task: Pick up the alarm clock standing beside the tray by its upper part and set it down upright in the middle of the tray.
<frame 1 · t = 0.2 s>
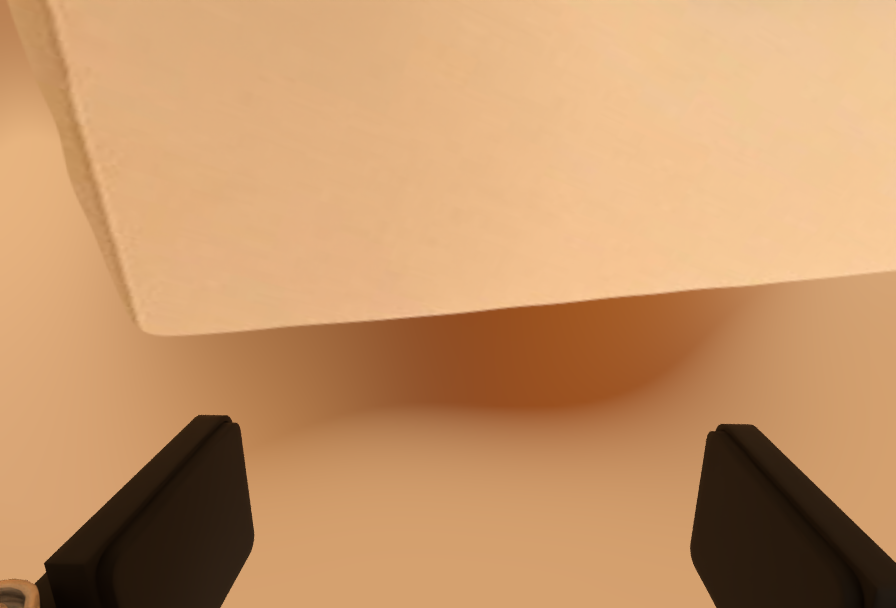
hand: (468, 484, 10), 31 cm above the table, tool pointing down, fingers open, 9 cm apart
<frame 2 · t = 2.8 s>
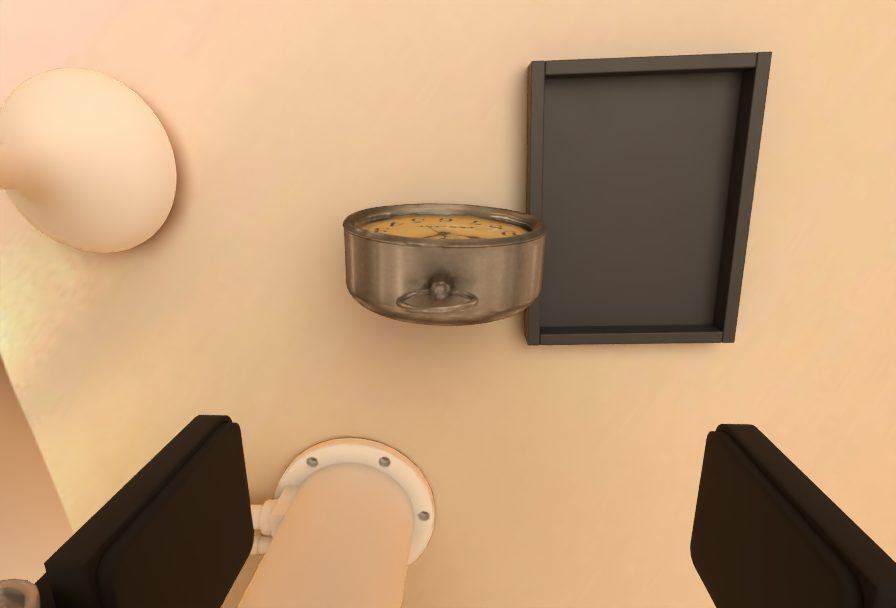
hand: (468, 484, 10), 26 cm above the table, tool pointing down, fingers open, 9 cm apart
alarm clock: (448, 241, 35), on the table
flower in vase: (119, 160, 35), on the table
tray: (630, 207, 34), on the table
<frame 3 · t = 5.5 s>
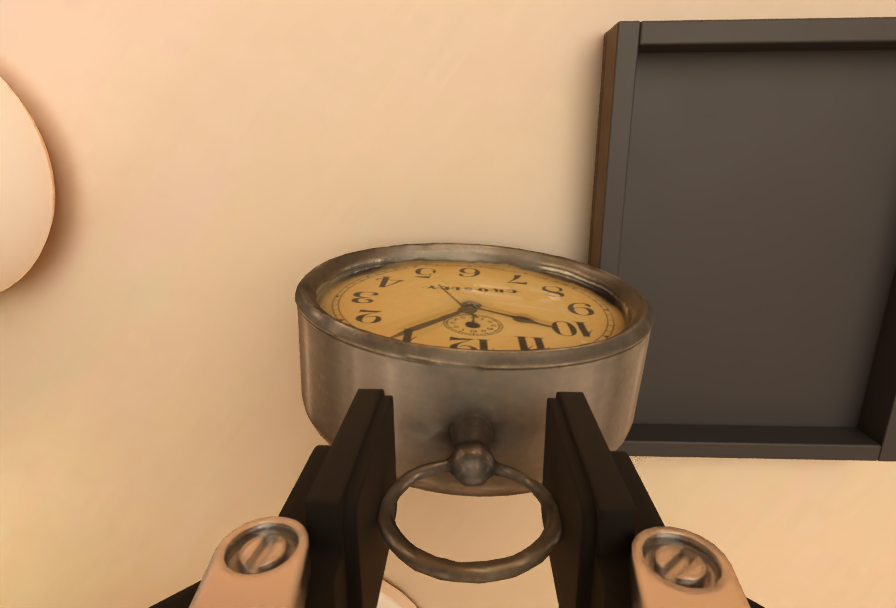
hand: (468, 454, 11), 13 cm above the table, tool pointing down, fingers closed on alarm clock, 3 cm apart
alarm clock: (470, 296, 24), on the table, touching gripper
tray: (747, 255, 23), on the table
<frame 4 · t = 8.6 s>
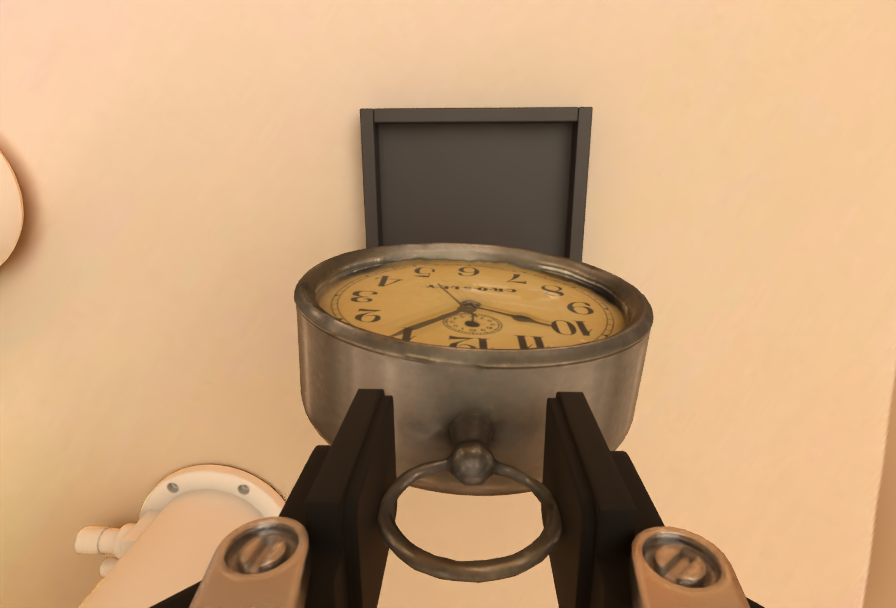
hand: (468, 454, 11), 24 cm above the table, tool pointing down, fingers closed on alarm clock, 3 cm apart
alarm clock: (469, 296, 24), point 11 cm above the table, touching gripper
tray: (473, 250, 35), on the table
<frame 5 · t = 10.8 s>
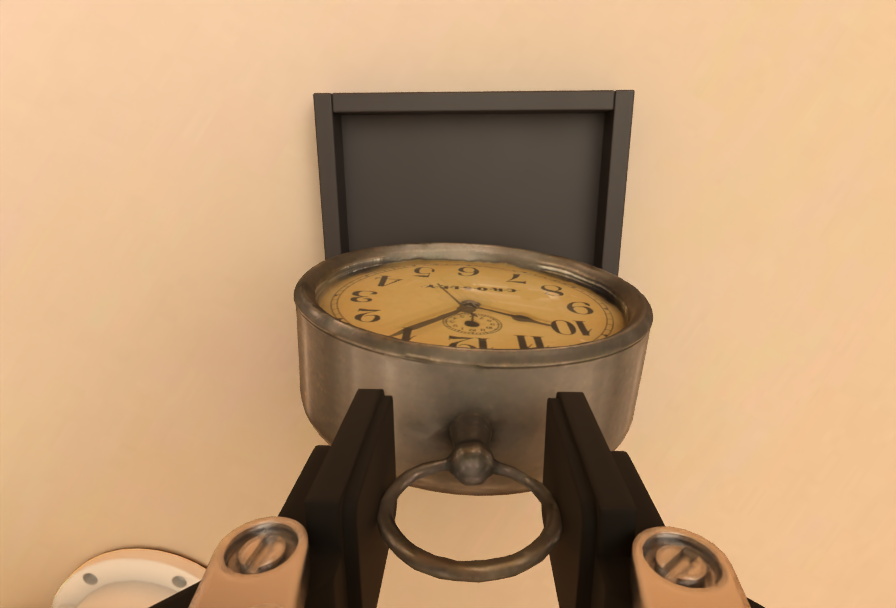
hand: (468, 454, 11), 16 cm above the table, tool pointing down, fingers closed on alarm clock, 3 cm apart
alarm clock: (469, 295, 24), point 3 cm above the table, touching gripper
tray: (470, 282, 26), on the table
when the fingers open (13 cm above the table, at t = 11.9 s): alarm clock stays where it is, resting on tray.
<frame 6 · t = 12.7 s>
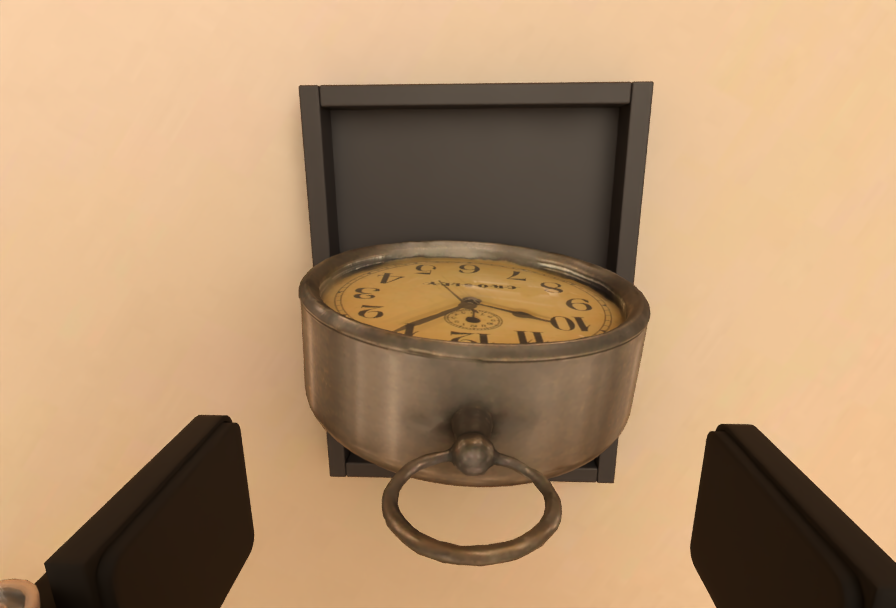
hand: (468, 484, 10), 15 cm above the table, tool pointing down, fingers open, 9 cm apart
alarm clock: (469, 293, 24), resting on tray
tray: (471, 291, 24), on the table
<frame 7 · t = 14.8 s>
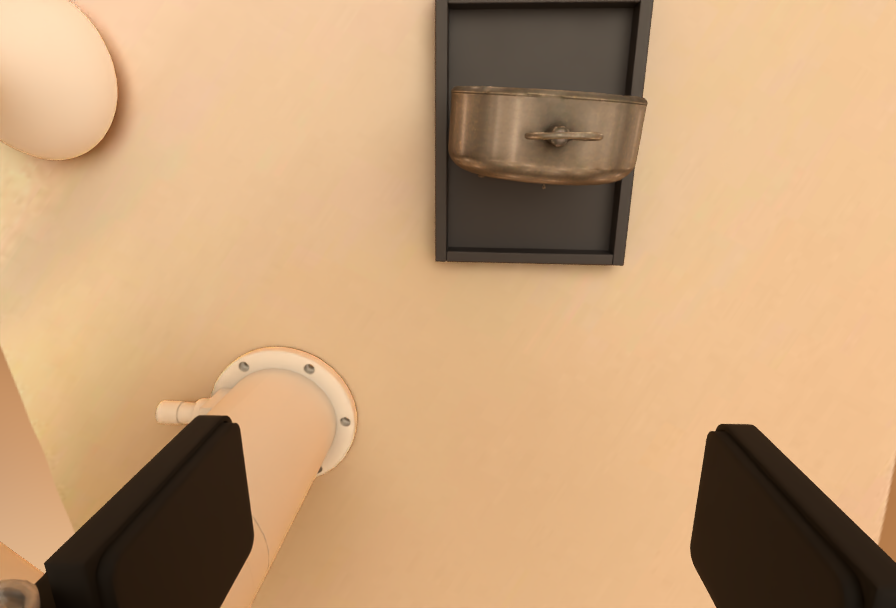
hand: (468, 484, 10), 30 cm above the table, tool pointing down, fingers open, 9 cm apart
alarm clock: (531, 136, 37), resting on tray
flower in vase: (68, 75, 38), on the table
tray: (533, 136, 37), on the table
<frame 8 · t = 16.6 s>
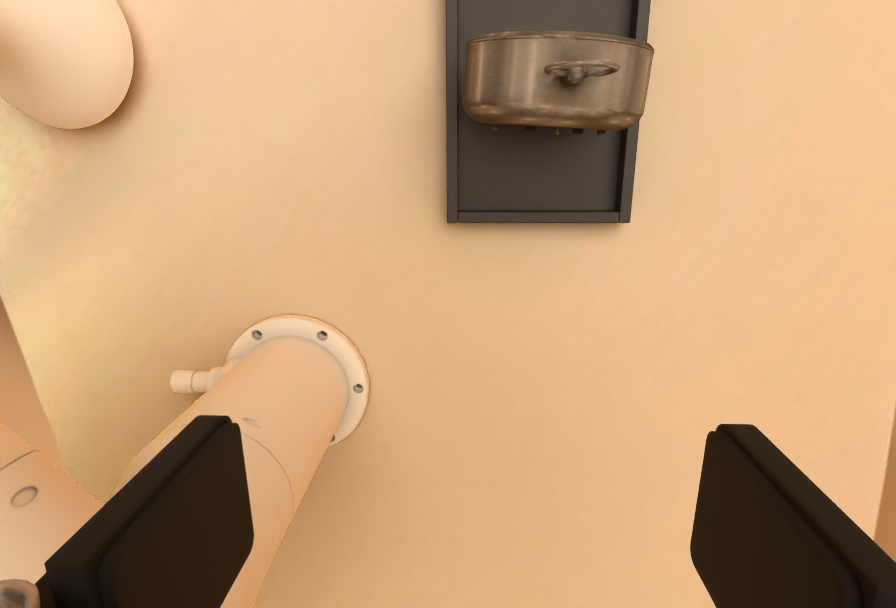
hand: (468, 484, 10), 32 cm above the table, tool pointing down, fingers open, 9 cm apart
alarm clock: (538, 99, 38), resting on tray
flower in vase: (83, 46, 39), on the table
tray: (539, 99, 38), on the table
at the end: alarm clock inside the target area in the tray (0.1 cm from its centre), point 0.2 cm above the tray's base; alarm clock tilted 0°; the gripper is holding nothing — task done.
